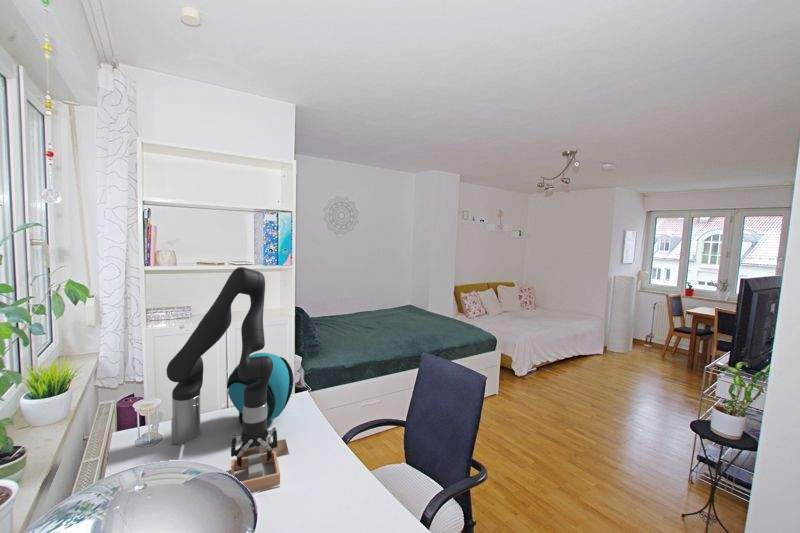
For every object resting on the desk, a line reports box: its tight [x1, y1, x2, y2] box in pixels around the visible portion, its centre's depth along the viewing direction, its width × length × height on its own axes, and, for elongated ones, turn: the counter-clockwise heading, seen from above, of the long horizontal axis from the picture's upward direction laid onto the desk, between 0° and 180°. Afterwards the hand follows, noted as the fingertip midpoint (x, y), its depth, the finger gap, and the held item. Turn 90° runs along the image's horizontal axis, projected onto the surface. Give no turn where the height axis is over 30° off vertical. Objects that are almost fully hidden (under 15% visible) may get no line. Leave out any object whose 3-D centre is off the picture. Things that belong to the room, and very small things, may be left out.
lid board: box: [236, 438, 290, 458], centre depth 130 cm, size 17×10×1 cm, turn 116°
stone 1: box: [248, 453, 262, 466], centre depth 119 cm, size 4×4×5 cm
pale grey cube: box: [255, 435, 272, 453], centre depth 131 cm, size 4×4×5 cm
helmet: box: [226, 352, 295, 426], centre depth 149 cm, size 26×24×30 cm
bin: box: [230, 451, 281, 493], centre depth 116 cm, size 14×13×4 cm
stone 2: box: [247, 463, 264, 480], centre depth 114 cm, size 4×4×5 cm
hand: (254, 462), depth 118 cm, fingers open, 8 cm apart
